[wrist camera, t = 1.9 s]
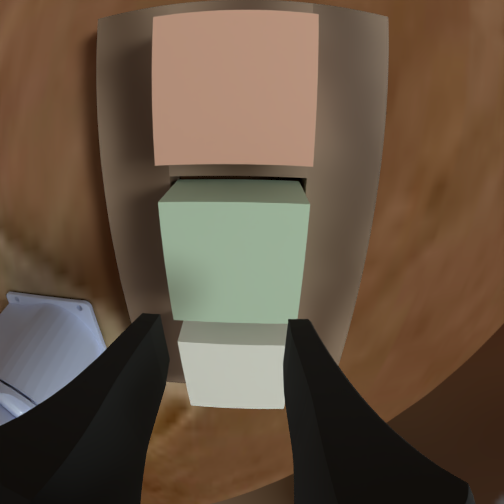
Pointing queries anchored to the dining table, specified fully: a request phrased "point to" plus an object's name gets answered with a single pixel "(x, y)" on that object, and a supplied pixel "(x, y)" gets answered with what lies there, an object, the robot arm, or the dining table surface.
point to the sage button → (234, 249)
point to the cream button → (233, 364)
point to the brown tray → (312, 178)
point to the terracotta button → (235, 87)
